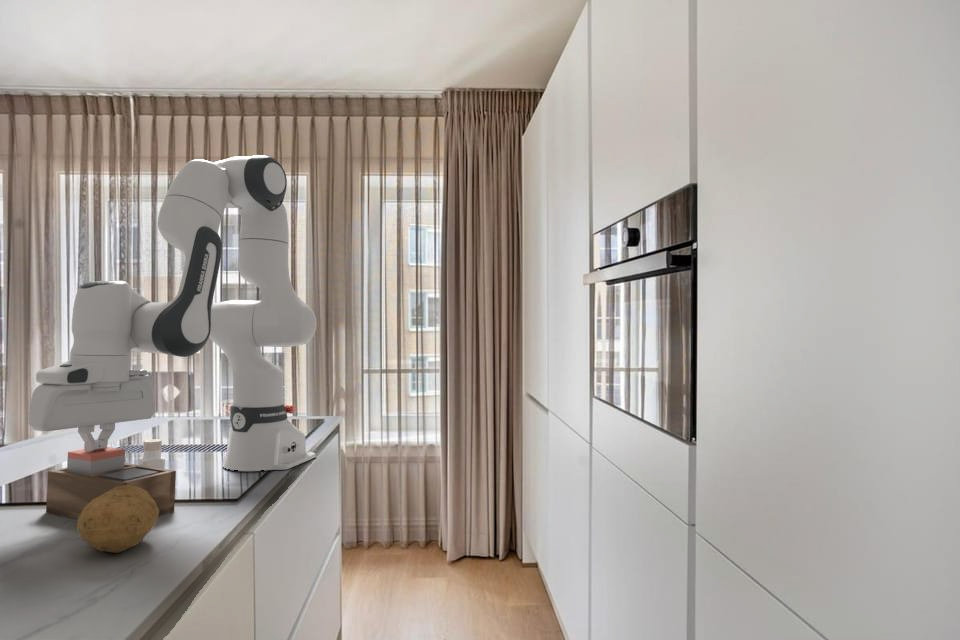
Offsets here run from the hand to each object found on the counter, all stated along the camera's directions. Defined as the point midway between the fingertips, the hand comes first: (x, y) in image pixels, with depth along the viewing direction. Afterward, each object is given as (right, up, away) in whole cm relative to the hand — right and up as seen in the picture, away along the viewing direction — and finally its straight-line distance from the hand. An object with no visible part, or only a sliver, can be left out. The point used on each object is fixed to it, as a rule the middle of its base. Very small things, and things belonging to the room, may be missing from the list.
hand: (95, 450), depth 100 cm
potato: (+15, -10, -18) cm, 26 cm away
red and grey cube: (0, -6, 0) cm, 6 cm away
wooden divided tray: (+4, -10, -2) cm, 11 cm away
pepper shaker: (+2, -11, +13) cm, 17 cm away
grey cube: (+8, -9, -3) cm, 12 cm away
